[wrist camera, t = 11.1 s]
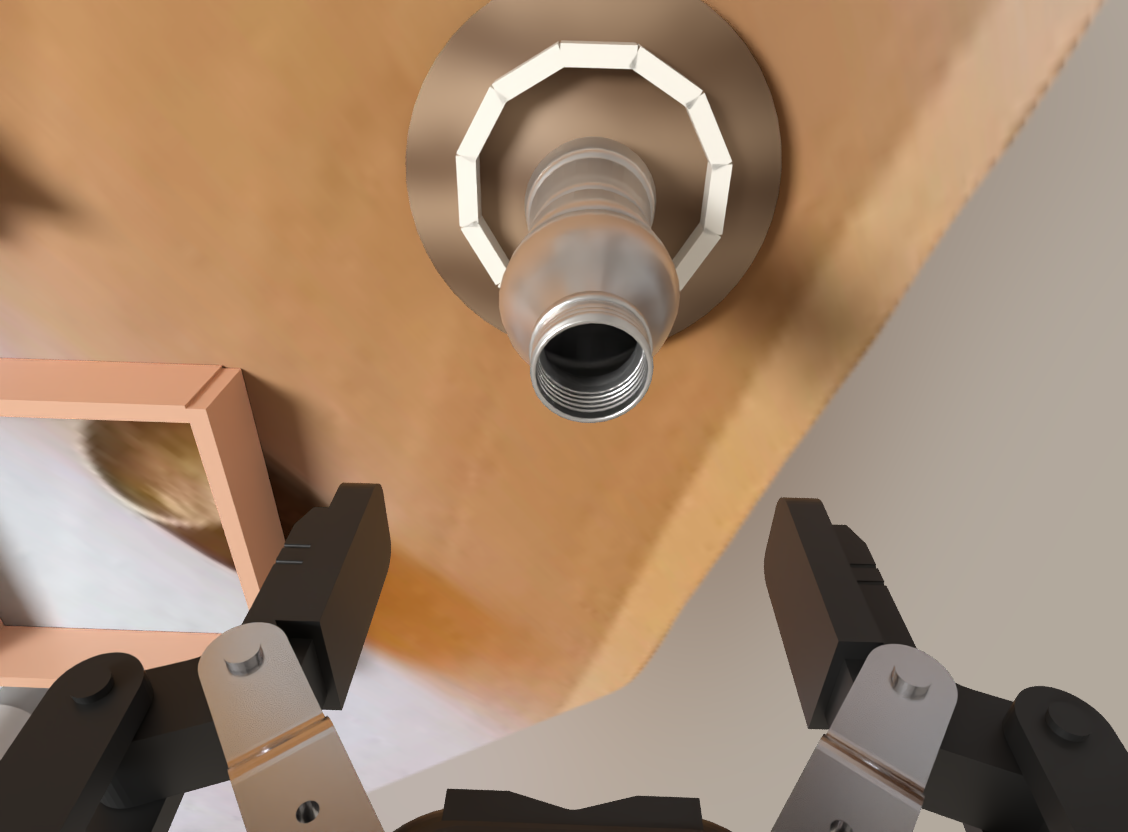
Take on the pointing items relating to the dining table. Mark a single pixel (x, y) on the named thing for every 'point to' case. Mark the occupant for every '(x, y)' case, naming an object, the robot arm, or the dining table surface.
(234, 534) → the peach open square frame
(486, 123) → the ring
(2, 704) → the cup
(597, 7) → the round tan coaster
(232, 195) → the dining table surface
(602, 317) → the plastic bottle
